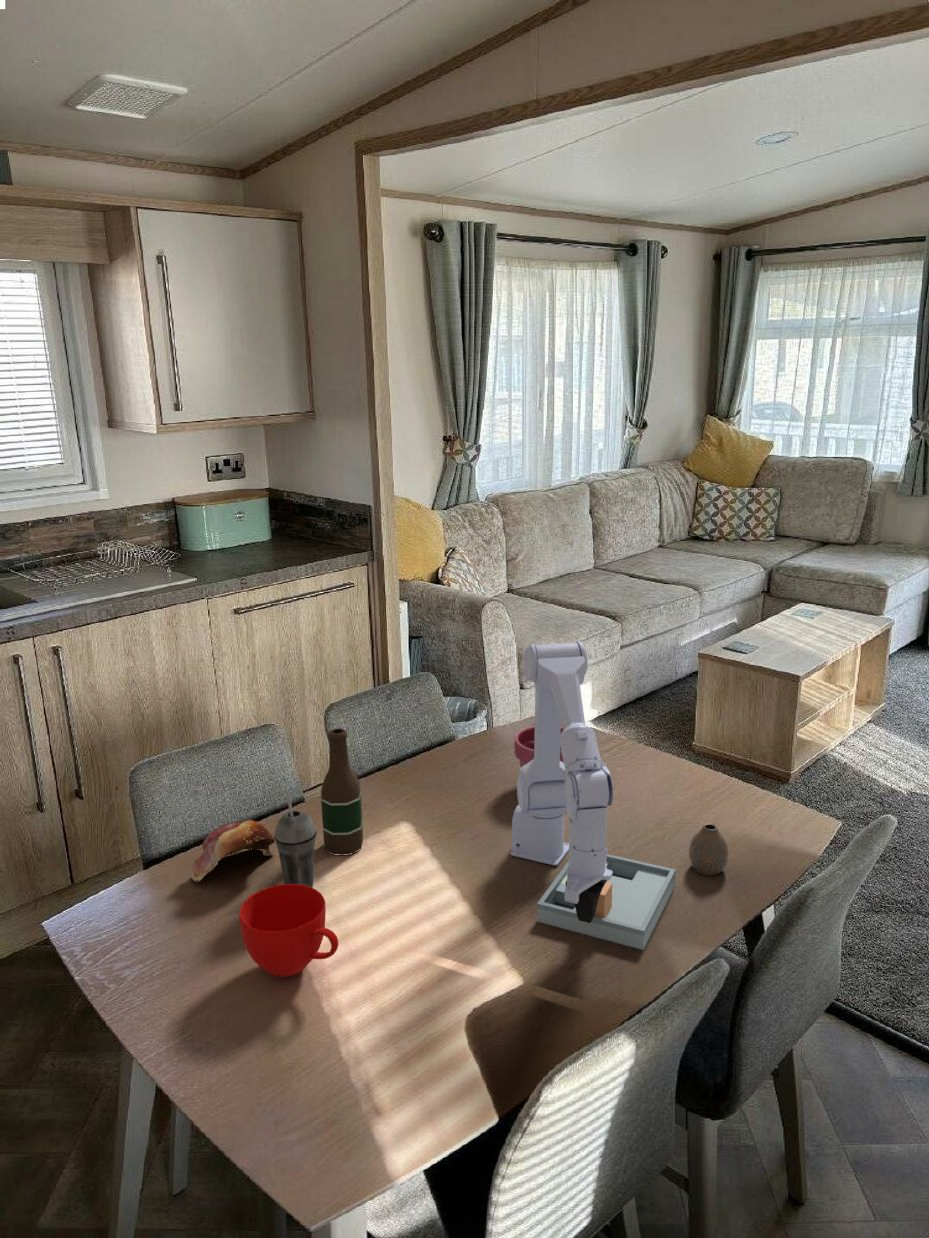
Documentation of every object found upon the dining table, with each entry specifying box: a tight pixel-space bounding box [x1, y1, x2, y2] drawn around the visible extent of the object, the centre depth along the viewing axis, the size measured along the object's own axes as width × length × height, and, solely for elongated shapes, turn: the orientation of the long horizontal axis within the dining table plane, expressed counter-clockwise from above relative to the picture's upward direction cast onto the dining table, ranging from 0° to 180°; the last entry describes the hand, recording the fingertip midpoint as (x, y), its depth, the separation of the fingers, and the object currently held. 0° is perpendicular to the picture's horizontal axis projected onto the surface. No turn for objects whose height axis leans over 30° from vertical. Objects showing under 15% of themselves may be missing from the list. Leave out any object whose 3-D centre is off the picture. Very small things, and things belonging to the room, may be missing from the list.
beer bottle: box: [320, 728, 364, 855], centre depth 172 cm, size 8×8×24 cm
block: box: [595, 882, 612, 918], centre depth 148 cm, size 4×4×4 cm
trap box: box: [536, 853, 677, 951], centre depth 154 cm, size 18×20×3 cm
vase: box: [688, 823, 729, 877], centre depth 163 cm, size 7×7×9 cm
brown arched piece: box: [192, 819, 276, 882], centre depth 166 cm, size 16×13×10 cm
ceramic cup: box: [238, 883, 339, 978], centre depth 138 cm, size 13×17×10 cm
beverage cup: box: [273, 791, 318, 888], centre depth 157 cm, size 7×7×20 cm
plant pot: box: [514, 725, 564, 768], centre depth 194 cm, size 14×14×13 cm
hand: (585, 919), depth 144 cm, fingers closed
